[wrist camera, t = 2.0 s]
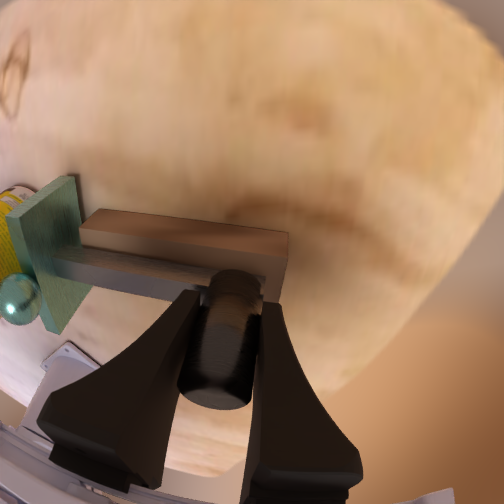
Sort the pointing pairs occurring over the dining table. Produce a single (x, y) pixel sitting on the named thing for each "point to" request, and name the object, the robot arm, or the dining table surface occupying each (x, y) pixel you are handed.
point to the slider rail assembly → (135, 282)
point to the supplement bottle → (3, 254)
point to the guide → (191, 244)
